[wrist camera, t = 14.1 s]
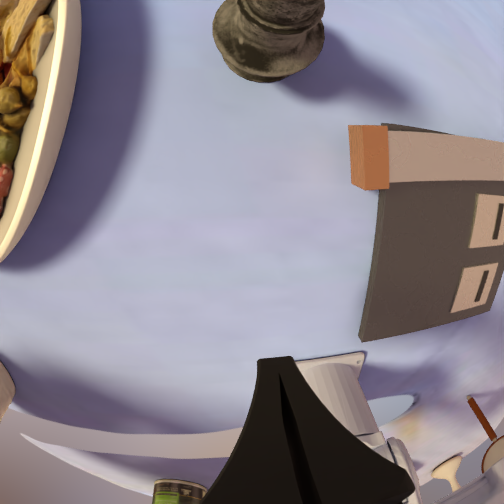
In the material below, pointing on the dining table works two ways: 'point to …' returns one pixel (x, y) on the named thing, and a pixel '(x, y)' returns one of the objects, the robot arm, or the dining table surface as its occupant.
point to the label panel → (433, 253)
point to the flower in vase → (448, 472)
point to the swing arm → (420, 157)
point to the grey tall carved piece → (269, 36)
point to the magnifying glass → (499, 446)
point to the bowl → (33, 103)
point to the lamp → (5, 390)
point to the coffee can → (177, 492)
